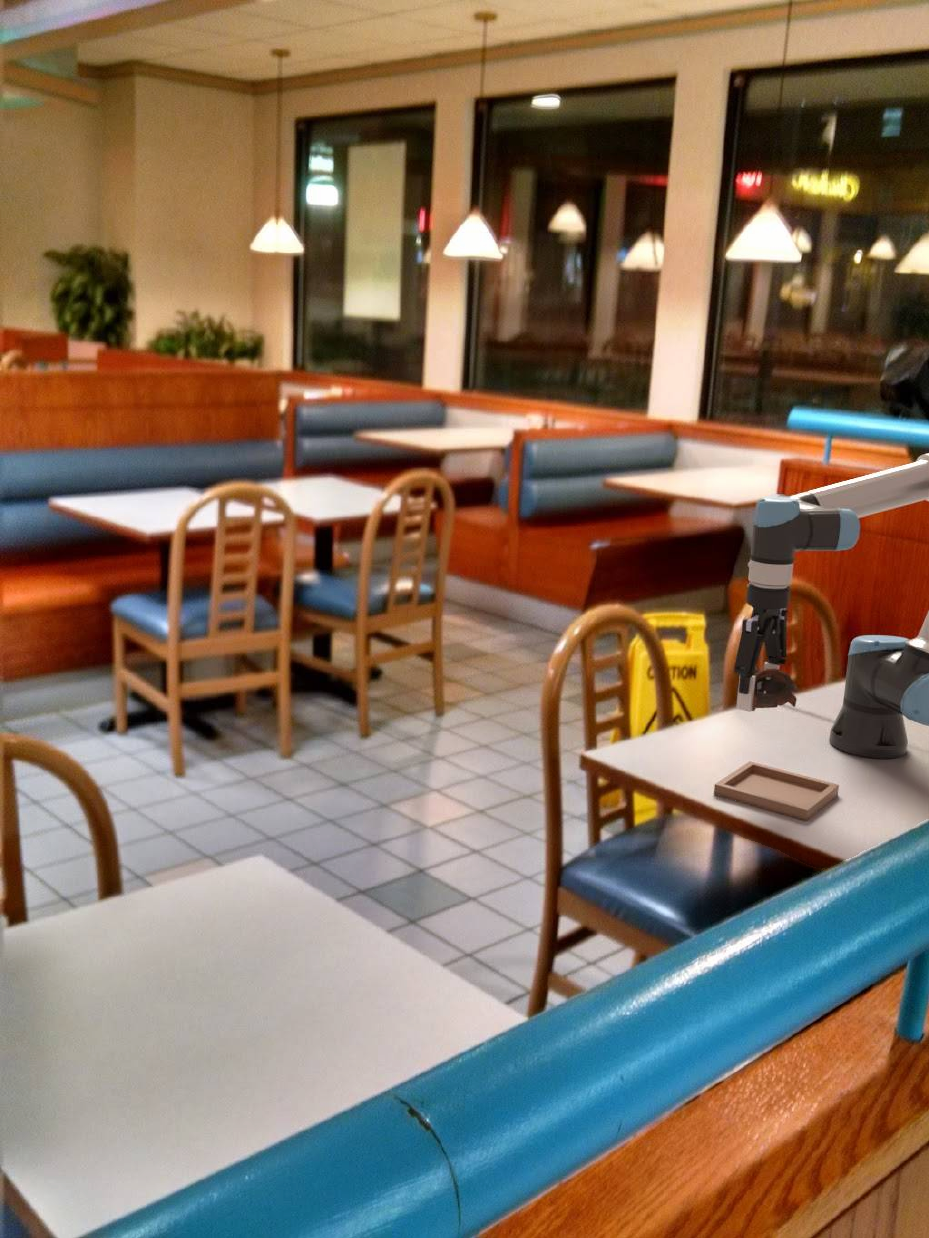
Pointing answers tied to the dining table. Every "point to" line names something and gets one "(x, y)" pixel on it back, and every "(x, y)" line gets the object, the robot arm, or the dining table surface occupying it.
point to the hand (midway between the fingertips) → (756, 703)
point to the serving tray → (777, 790)
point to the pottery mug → (773, 689)
